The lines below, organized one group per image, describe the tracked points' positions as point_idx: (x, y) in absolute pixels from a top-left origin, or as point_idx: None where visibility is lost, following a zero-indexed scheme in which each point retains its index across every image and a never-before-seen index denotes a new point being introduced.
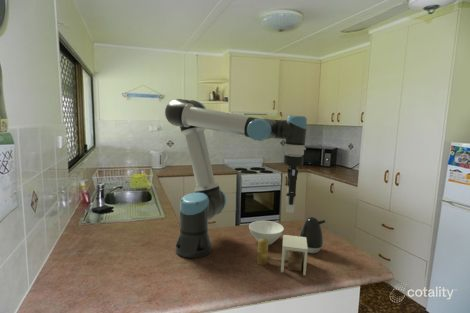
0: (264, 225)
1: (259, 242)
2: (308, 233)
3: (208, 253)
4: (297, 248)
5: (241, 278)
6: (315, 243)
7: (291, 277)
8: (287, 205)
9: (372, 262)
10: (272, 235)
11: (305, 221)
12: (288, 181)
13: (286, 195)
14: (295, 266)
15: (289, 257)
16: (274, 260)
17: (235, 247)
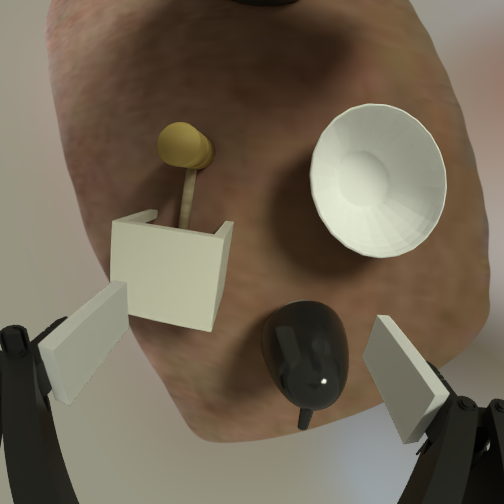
0: (430, 184)
1: (165, 128)
2: (276, 348)
3: (239, 1)
4: (111, 275)
5: (113, 102)
6: (262, 352)
7: None
8: (88, 304)
9: (243, 436)
10: (312, 197)
11: (323, 363)
12: (433, 465)
13: (10, 326)
14: None
15: None
16: (183, 192)
17: (298, 69)
